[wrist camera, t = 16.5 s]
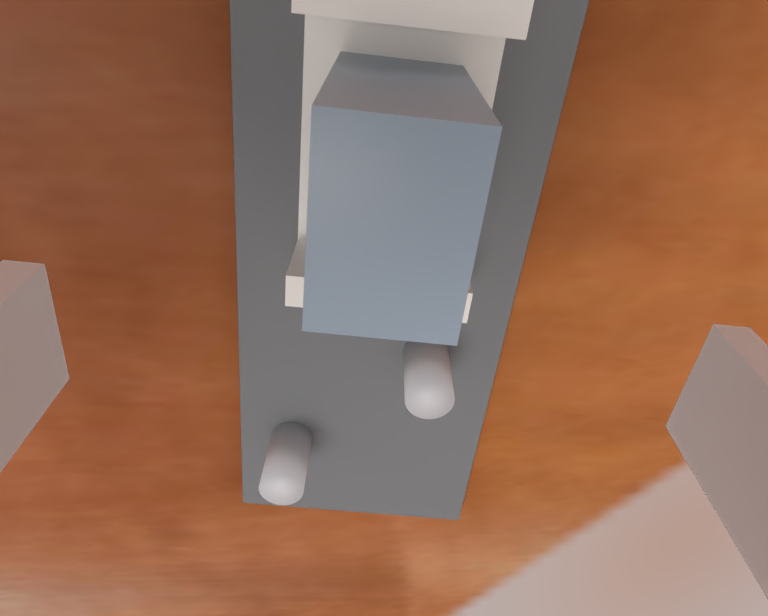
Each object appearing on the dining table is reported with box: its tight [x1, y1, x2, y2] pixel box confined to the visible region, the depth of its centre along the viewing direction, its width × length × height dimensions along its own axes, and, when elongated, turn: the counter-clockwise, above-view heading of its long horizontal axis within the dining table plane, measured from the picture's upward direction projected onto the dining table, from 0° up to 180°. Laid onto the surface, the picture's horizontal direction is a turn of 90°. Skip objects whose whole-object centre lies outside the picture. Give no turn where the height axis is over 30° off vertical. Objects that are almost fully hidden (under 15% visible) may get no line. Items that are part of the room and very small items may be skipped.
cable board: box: [230, 0, 589, 520], centre depth 29 cm, size 14×32×5 cm, turn 174°
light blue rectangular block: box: [302, 51, 502, 346], centre depth 21 cm, size 5×7×10 cm
